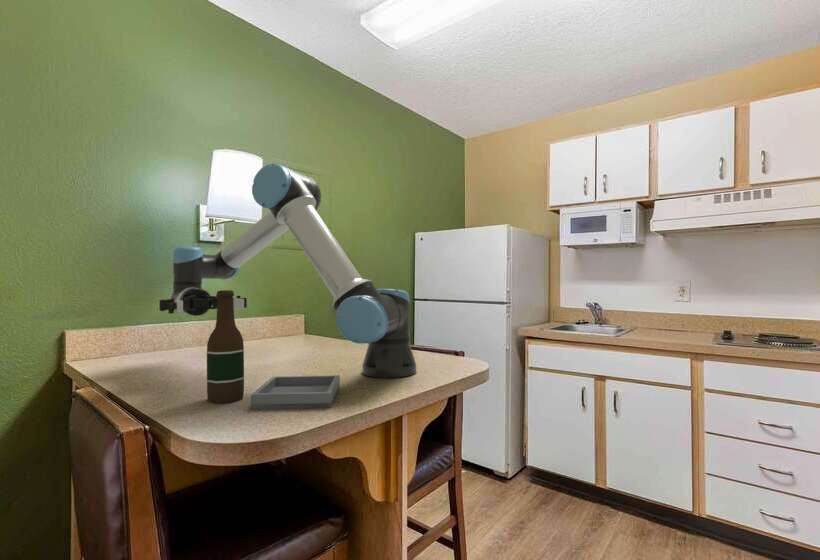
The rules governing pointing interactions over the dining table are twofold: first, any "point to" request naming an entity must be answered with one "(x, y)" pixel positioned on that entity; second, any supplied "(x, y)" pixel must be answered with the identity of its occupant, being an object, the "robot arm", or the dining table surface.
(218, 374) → the beer bottle
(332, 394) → the tray
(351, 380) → the dining table surface
